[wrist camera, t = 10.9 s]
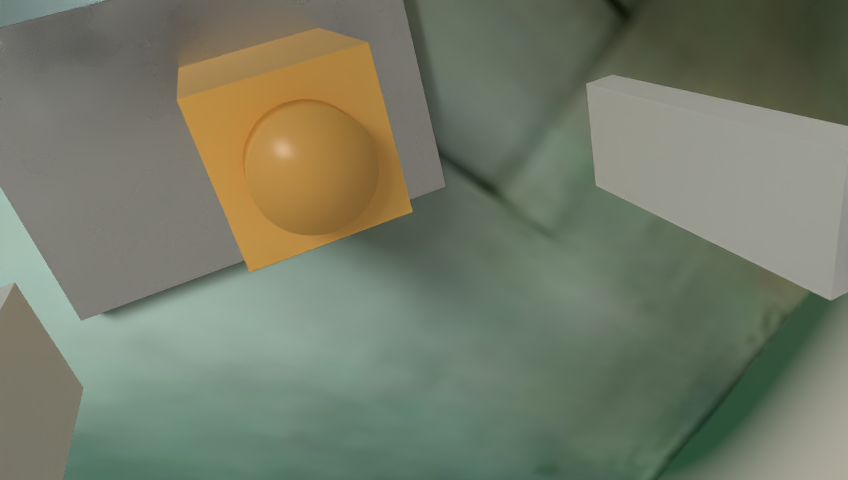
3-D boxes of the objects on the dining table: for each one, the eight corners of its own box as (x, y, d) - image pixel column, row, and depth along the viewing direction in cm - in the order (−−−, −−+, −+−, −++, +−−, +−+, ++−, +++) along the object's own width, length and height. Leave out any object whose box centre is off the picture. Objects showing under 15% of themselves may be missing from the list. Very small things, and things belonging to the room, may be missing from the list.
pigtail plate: (84, 307, 28) (61, 384, 22) (-71, 46, 22) (-151, 64, 17) (437, 180, 32) (489, 219, 26) (378, -69, 26) (428, -84, 21)
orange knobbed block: (232, 199, 27) (254, 292, 19) (178, 68, 24) (176, 108, 16) (356, 157, 28) (427, 226, 20) (318, 27, 26) (382, 46, 17)
